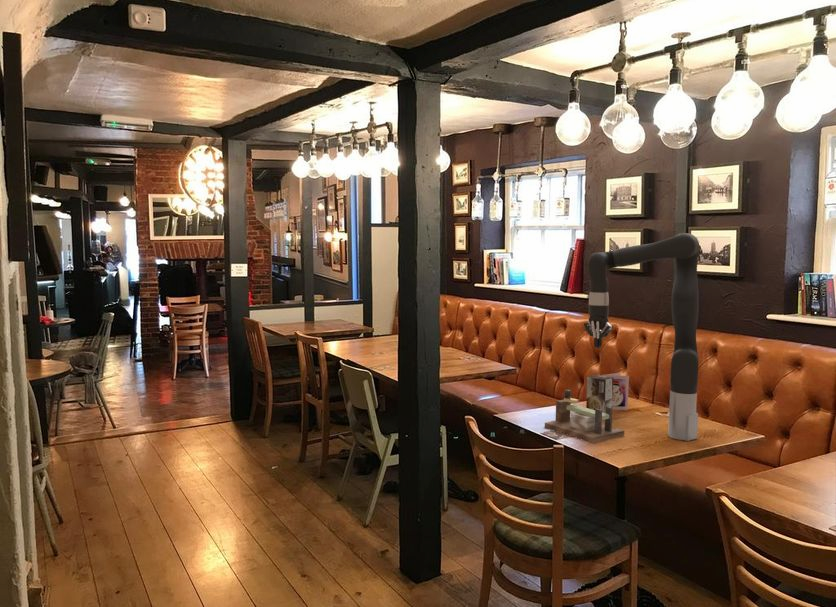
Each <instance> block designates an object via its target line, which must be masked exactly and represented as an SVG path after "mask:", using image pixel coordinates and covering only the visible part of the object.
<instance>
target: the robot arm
mask: <svg viewBox="0 0 836 607" xmlns="http://www.w3.org/2000/svg"><path fill="white" fill-rule="evenodd" d="M699 254H700V242H699V239H698V238H697V237H696V236H695V235H694V234H691V233H689V232H688V233H687V232H684V233H678V234H676V235H674V236H672V237H669V238H666V239H663V240H660V241H655V242H652V243H651V242H650V243H646V244H639V245H631V246H626V247H621V248H618V249H615V250H609V251H601V252H594V253H592V254H591V255H590V256H589V258H588V261H587V270H588V277H589V296H588V316H589V317H588V320H587V322H584V323H583V326H584V327H585V329H586V332H587V333H588V335H589V336H590V337H592V338H593V347H594V348H596V349H601V348H602V346H603V338H607V337H608V335H609V334H610V333H611V332H612V330H613V329H614V326H613V324H610V323H609V319H608V316H609V312H610V311H609V310H610V308H609V307H610V306H609V305H610V298H609V279H608V278H607V272H606V271H607V270H610V269H615V268H619V267H620V268H621V267H622V268H623V267H628V266H634V265H635V266H636V265H639V264H642V263H647V262H650V261H656V260H661V259H674V260H675V275H674V280H673V285H672V291H671V317H672V324H673V329H674V344H673V345H674V346H673V353H672V356H671V359H670V360H671V361H670V380H669V382H670V383H669V385H670V386H669V387H670V388H669V389H670V390H669V406H668V407H669V409H668V411H669V412H668V430H667V433H668V434H667V436H668V437H669V438H671V439H675V440H677V441H678V440H679V441H686V442H689V441H693V440H696V439H698V432H699V431H698V429H699V413H698V412H697V398H698V385H699V384H698V381H699V380H698V379H699V365H700V364H699V363H700V362H699V361H700V360H699V358H700V357H699V353H698V345H697V343H698V342H697V328H698V321H699V311H700V310H699V308H700V307H699V306H700V304H699V301H700V300H699V282H698V281H699V280H698V262H699Z"/></svg>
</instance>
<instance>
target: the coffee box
mask: <svg viewBox="0 0 836 607" xmlns="http://www.w3.org/2000/svg"><path fill="white" fill-rule="evenodd" d="M585 406H586V407H585V408H588V409H592V410H595V409H601V410H602V413H605V407H607V406H608V407H612V406H613V377H607V376H602V375H601V374H600V375H599V374H591V375H589V376H586V405H585Z"/></svg>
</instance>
